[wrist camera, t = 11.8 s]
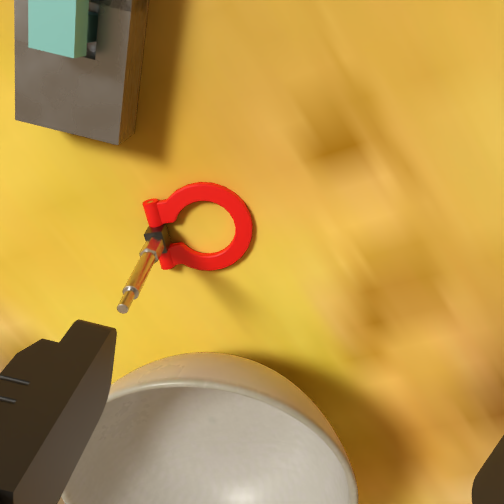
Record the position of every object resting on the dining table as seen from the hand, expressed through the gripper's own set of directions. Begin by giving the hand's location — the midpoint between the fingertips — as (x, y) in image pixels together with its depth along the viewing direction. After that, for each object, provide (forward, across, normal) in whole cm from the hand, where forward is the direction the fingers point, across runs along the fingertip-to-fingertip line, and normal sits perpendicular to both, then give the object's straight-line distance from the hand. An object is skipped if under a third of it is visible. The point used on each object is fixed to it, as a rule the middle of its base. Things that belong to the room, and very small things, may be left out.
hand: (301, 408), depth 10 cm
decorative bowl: (+32, 0, +32) cm, 45 cm away
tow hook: (+32, +6, +12) cm, 35 cm away
